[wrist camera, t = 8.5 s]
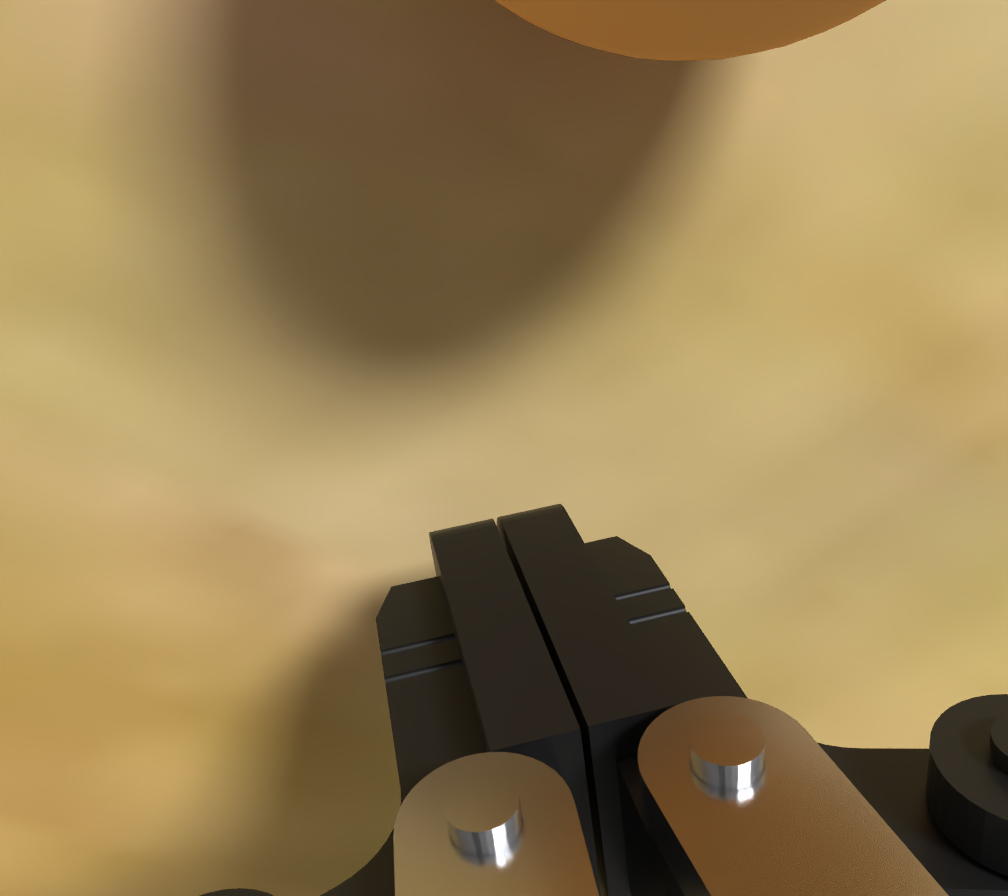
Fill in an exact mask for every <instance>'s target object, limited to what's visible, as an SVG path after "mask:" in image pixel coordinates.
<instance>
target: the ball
mask: <svg viewBox="0 0 1008 896" xmlns="http://www.w3.org/2000/svg"><path fill="white" fill-rule="evenodd" d="M495 1H496V2H497V3H499V4H500V5H502V6H503V7H505V8H507V9H508V10H510V11H511V12H513V13H515V14H516V15H518V16H520V17H521V18H523V19H524V20H526V21H528V22H530V23H532V24H534V25H536V26H538V27H540V28H542V29H544V30H546V31H548V32H550V33H552V34H554V35H557V36H559V37H562V38H565V39H568V40H570V41H573V42H576V43H579V44H582V45H585V46H588V47H592V48H596V49H599V50H603V51H607V52H612V53H616V54H620V55H625V56H629V57H633V58H643V59H654V60H675V61H695V60H714V59H725V58H730V57H735V56H741V55H746V54H751V53H757V52H761V51H765V50H770V49H774V48H779V47H783V46H786V45H789V44H792V43H795V42H797V41H800V40H803V39H806V38H808V37H811V36H814V35H816V34H819V33H822V32H824V31H827V30H829V29H831V28H833V27H836V26H838V25H840V24H842V23H844V22H847V21H849V20H851V19H853V18H854V17H856V16H858V15H860V14H862V13H864V12H866V11H867V10H869V9H871V8H873V7H875V6H877V5H878V4H880V3H882V2H884V1H886V0H495Z"/></svg>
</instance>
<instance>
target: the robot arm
mask: <svg viewBox="0 0 1008 896" xmlns="http://www.w3.org/2000/svg"><path fill="white" fill-rule="evenodd" d="M429 537H430V543H431V549H432V554H433V560H434V565H435V570H436V575H437V577H433V578H429V579H424V580H420V581H415V582H411V583H406V584H402V585H397V586H393V587H391V588H390V590H389V593H388V595H387V597H386V599H385V601H384V603H383V605H382V607H381V609H380V611H379V613H378V615H377V617H376V622H377V629H378V636H379V643H380V650H381V655H382V663H383V670H384V677H385V682H386V691H387V698H388V705H389V711H390V718H391V725H392V732H393V739H394V746H395V753H396V760H397V766H398V773H399V780H400V787H401V805H400V808H399V810H398V813H397V816H396V820H395V823H394V829H393V830H392V832H391V834H390V836H389V838H388V840H387V841H386V842H385V844H384V845H383V846H382V848H381V849H380V851H379V852H378V853H377V854H376V855H375V856H374V857H373V858H372V859H371V860H370V861H369V863H368V864H367V865H366V866H364V867H363V868H362V869H361V870H359V871H358V872H357V873H356V874H355V875H353V876H352V877H351V878H349V879H348V880H346V881H344V882H343V883H341V884H340V885H338V886H337V887H335V888H333V889H331V890H330V891H328V892H326V893H324V894H323V895H321V896H1008V694H1001V695H986V696H980V697H974V698H971V699H968V700H965V701H962V702H960V703H958V704H956V705H954V706H952V707H950V708H949V709H947V710H946V711H945V712H944V713H942V714H941V715H940V717H939V718H938V719H937V720H936V722H935V723H934V726H933V728H932V731H931V735H930V746H929V749H863V748H843V747H837V746H830V745H825V744H821V743H817V742H816V741H815V740H814V739H813V737H812V736H811V735H810V734H809V733H808V732H807V731H806V729H805V728H804V727H802V726H801V725H800V724H799V723H798V722H797V721H796V720H795V719H793V718H792V717H791V716H789V715H788V714H786V713H785V712H783V711H781V710H779V709H777V708H775V707H773V706H771V705H768V704H765V703H763V702H760V701H756V700H752V699H748V698H747V697H746V695H745V694H744V692H743V691H742V689H741V688H740V686H739V685H738V683H737V682H736V680H735V679H734V678H733V676H732V675H731V673H730V672H729V670H728V669H727V667H726V666H725V664H724V663H723V661H722V660H721V658H720V657H719V655H718V654H717V653H716V651H715V650H714V648H713V647H712V645H711V644H710V642H709V641H708V639H707V638H706V636H705V635H704V633H703V632H702V630H701V629H700V627H699V626H698V625H697V623H696V622H695V620H694V619H693V617H692V616H691V614H690V613H689V612H686V609H685V605H684V604H683V602H682V601H681V600H680V598H679V597H678V595H677V594H676V592H675V591H674V589H671V588H670V584H669V582H668V580H667V579H666V577H665V576H664V575H663V573H662V572H661V570H660V569H659V567H658V566H657V564H656V563H655V561H654V560H653V558H652V557H651V556H650V555H649V554H647V553H645V552H643V551H642V550H640V549H638V548H636V547H635V546H633V545H631V544H630V543H628V542H626V541H624V540H623V539H621V538H619V537H617V536H615V537H611V538H606V539H602V540H597V541H593V542H588V543H584V542H583V540H582V538H581V536H580V535H579V533H578V531H577V529H576V528H575V526H574V524H573V522H572V521H571V519H570V517H569V515H568V513H567V512H566V510H565V508H564V507H563V506H562V505H561V504H557V505H552V506H547V507H543V508H538V509H534V510H529V511H524V512H520V513H515V514H511V515H506V516H501V517H498V518H497V526H496V524H495V521H494V520H493V519H489V520H484V521H480V522H475V523H470V524H466V525H461V526H457V527H452V528H447V529H443V530H438V531H434V532H429ZM201 896H273V895H271V894H269V893H265V892H262V891H258V890H252V889H226V890H220V891H215V892H211V893H206V894H204V895H201Z"/></svg>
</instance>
